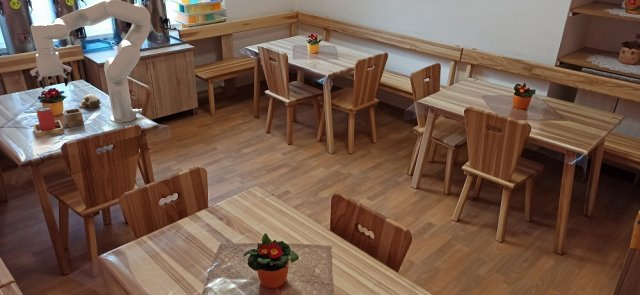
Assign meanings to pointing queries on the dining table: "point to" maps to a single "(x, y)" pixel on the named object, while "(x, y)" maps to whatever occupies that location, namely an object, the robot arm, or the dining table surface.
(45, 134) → the tray
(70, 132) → the coaster
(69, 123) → the brown square pot
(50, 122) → the beer can
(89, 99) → the skull
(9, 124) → the dining table surface
